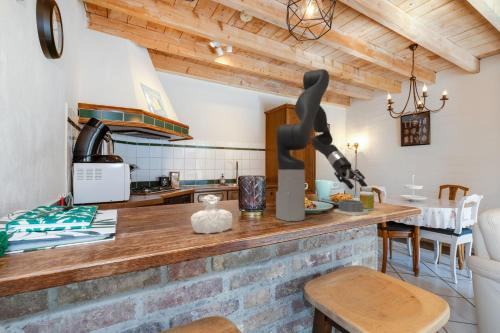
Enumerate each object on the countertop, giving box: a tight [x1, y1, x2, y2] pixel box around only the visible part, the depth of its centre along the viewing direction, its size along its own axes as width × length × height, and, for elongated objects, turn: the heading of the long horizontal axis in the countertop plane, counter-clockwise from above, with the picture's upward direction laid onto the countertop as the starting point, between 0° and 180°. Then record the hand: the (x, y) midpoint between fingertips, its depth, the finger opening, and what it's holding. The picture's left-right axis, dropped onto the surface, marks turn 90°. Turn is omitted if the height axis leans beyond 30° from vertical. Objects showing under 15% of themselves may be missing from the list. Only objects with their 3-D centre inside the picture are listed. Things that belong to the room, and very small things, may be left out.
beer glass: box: [359, 186, 375, 212], centre depth 101 cm, size 5×5×10 cm
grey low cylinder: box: [333, 199, 369, 217], centre depth 94 cm, size 9×9×4 cm
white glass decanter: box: [189, 194, 233, 235], centre depth 68 cm, size 12×8×11 cm
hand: (359, 187), depth 105 cm, fingers open, 8 cm apart
